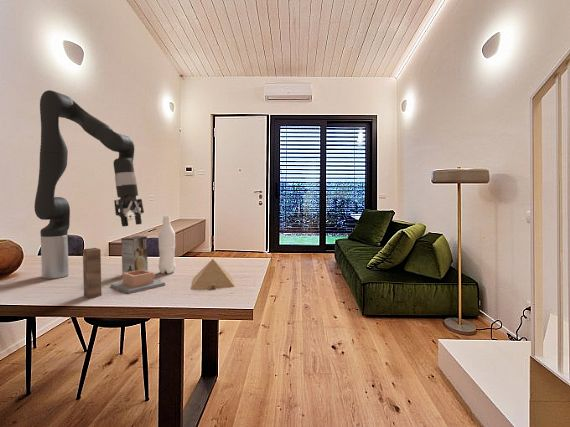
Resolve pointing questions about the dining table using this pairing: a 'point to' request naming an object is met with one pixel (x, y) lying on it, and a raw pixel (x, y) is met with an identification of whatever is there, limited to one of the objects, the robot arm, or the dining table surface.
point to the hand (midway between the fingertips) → (132, 225)
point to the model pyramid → (212, 277)
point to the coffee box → (134, 253)
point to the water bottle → (166, 247)
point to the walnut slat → (92, 272)
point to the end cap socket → (137, 281)
